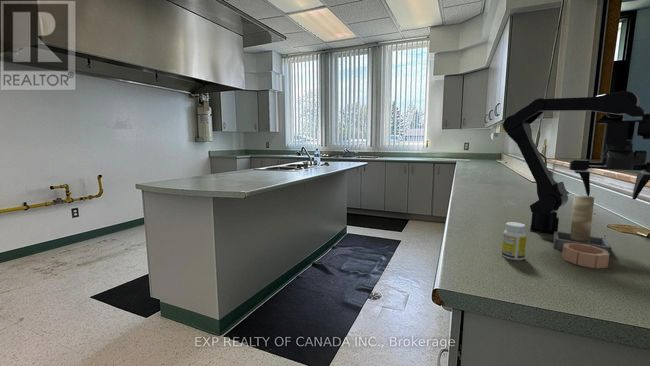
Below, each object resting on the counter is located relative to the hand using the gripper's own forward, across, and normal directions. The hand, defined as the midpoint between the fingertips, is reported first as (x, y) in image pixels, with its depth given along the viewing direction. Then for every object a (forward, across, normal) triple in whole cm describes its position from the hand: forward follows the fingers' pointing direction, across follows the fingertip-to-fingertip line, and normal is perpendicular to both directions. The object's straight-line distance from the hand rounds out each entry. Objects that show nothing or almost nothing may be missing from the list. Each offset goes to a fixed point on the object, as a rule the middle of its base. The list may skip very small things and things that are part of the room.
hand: (610, 197), depth 81 cm
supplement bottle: (+13, -20, -27) cm, 36 cm away
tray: (+13, -6, -9) cm, 17 cm away
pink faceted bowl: (+13, -6, -20) cm, 25 cm away
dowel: (+12, -6, -9) cm, 16 cm away
